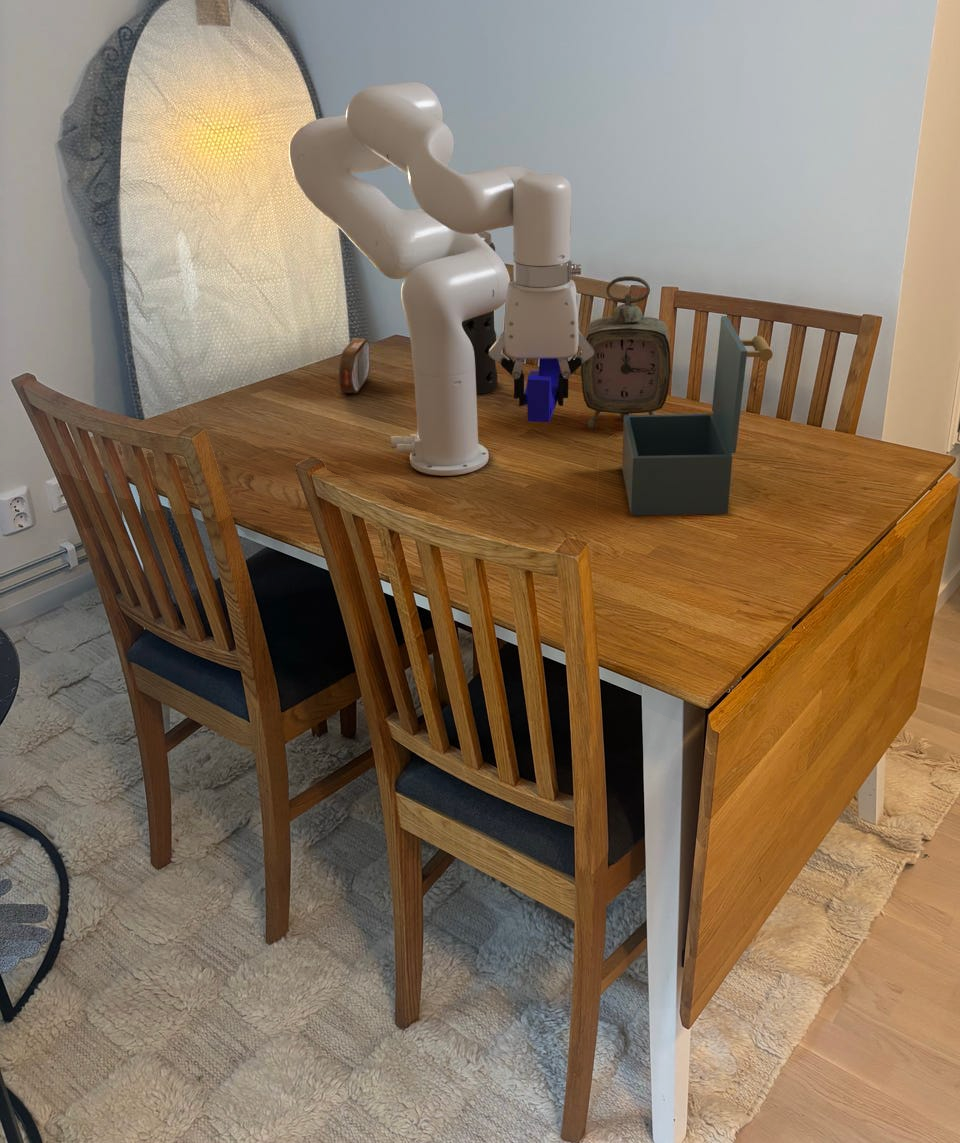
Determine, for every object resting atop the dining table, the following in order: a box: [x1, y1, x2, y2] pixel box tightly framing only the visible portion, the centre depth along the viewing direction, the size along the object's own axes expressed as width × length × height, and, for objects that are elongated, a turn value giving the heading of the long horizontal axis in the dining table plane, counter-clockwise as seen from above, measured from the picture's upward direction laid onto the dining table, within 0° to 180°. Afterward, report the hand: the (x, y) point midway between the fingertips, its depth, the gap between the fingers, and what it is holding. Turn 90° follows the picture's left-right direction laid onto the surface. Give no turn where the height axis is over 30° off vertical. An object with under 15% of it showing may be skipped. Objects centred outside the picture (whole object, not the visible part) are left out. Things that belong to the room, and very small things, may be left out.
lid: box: [711, 315, 774, 454], centre depth 151 cm, size 14×17×5 cm
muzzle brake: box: [462, 231, 499, 396], centre depth 196 cm, size 10×28×10 cm
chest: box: [621, 413, 733, 516], centre depth 157 cm, size 14×17×9 cm
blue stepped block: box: [523, 359, 560, 424], centre depth 151 cm, size 12×4×6 cm, turn 168°
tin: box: [338, 337, 371, 394], centre depth 203 cm, size 15×3×8 cm, turn 172°
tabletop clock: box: [580, 275, 672, 429], centre depth 178 cm, size 14×9×25 cm, turn 83°
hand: (540, 401), depth 152 cm, fingers closed on blue stepped block, 4 cm apart
